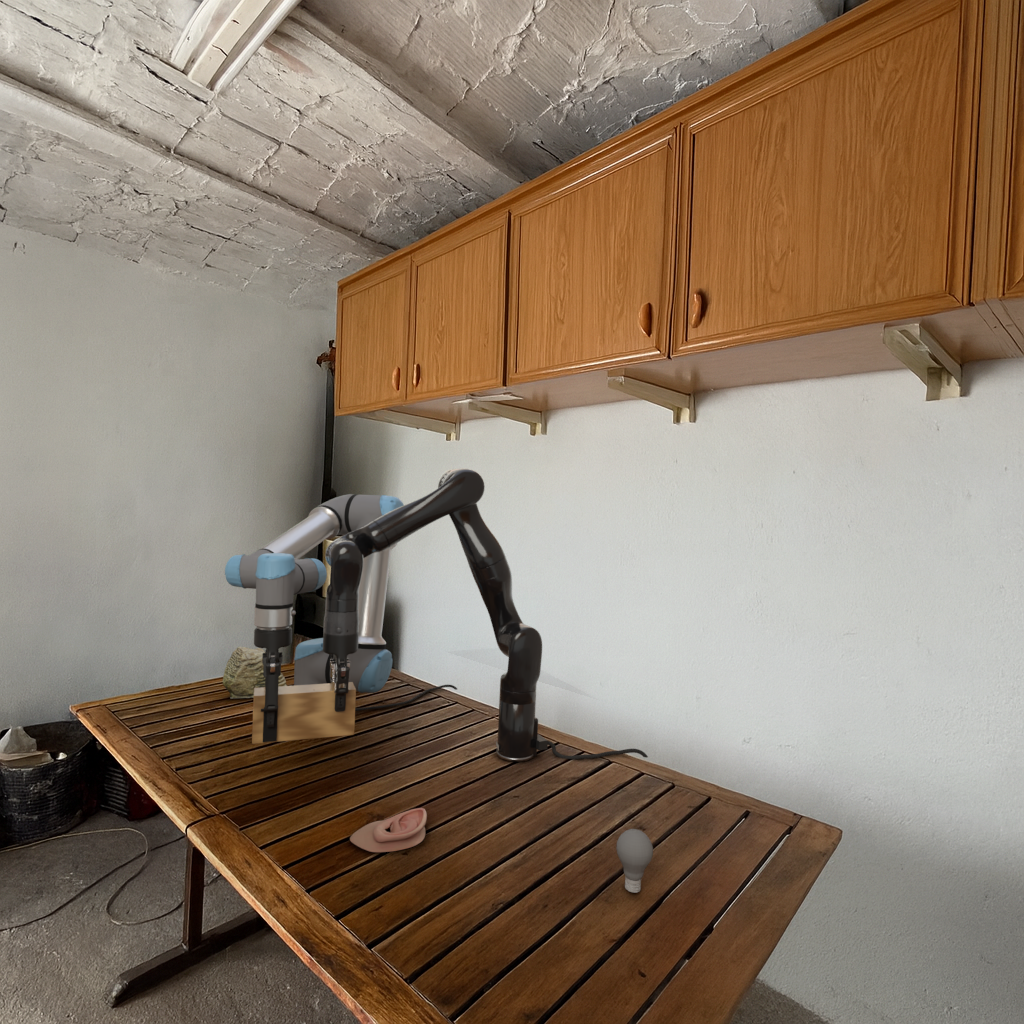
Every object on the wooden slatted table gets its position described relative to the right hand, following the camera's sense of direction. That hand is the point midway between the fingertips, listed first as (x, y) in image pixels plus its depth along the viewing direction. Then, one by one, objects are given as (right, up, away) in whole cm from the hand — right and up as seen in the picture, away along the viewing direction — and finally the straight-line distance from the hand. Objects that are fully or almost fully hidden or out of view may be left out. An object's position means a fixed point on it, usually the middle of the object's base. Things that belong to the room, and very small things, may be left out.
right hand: (338, 705), depth 139 cm
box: (-7, -5, -2) cm, 9 cm away
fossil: (-42, -15, +59) cm, 74 cm away
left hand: (-13, -5, -5) cm, 15 cm away
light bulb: (+58, -21, -34) cm, 71 cm away
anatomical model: (+15, -19, -20) cm, 32 cm away
